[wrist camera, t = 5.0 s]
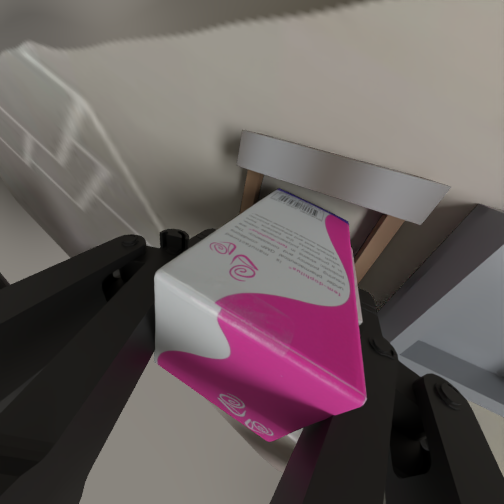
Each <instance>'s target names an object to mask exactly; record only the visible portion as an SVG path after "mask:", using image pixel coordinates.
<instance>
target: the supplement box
mask: <svg viewBox="0 0 504 504" xmlns="http://www.w3.org/2000/svg"><path fill="white" fill-rule="evenodd" d="M154 284H155V285H154V291H155V353H154V361H155V363H157V364H158V365H160V366H161V367H162V368H164V369H165V370H166V371H168V372H169V373H171V374H172V375H174V376H175V377H177V378H178V379H179V380H181V381H182V382H184V383H185V384H186V385H188V386H190V387H191V388H192V389H194V390H195V391H196V392H198V393H199V394H201V395H202V396H203V397H205V398H206V399H208V400H209V401H210V402H212V403H213V404H215V405H216V406H218V407H219V408H220V409H222V410H223V411H225V412H226V413H227V414H229V415H230V416H232V417H233V418H235V419H236V420H237V421H239V422H240V423H242V424H243V425H245V426H246V427H247V428H249V429H250V430H252V431H253V432H255V433H256V434H257V435H259V436H260V437H262V438H263V439H265V440H266V441H268V442H271V441H274V440H277V439H279V438H281V437H283V436H285V435H287V434H289V433H292V432H294V431H296V430H299V429H301V428H304V427H306V426H309V425H311V424H314V423H316V422H319V421H322V420H325V419H327V418H329V417H331V416H332V415H338V414H341V413H344V412H347V411H350V410H353V409H356V408H359V407H361V406H362V405H364V403H365V401H366V400H367V396H366V386H365V377H364V367H363V358H362V350H361V341H360V331H359V323H358V313H357V305H356V294H355V282H354V272H353V262H352V252H351V244H350V232H349V223H348V221H346V220H344V219H343V218H341V217H338V216H337V215H335V214H333V213H331V212H328V211H326V210H324V209H323V208H320V207H318V206H316V205H314V204H312V203H310V202H308V201H306V200H304V199H302V198H299V197H297V196H295V195H293V194H291V193H289V192H286V191H284V190H282V189H280V188H278V189H277V190H275V191H273V192H272V193H271V194H269V195H268V196H266V197H265V198H263V199H262V200H260V201H259V202H257V203H256V204H254V205H253V206H251V207H250V208H248V209H247V210H245V211H244V212H243V213H241V214H240V215H238V216H237V217H235V218H234V219H232V220H231V221H229V222H228V223H226V224H225V225H223V226H222V227H220V228H219V229H217V230H216V231H214V232H213V233H211V234H210V235H209V236H207V237H206V238H204V239H203V240H201V241H200V242H198V243H197V244H195V245H194V246H192V247H191V248H189V249H188V250H186V251H185V252H183V253H182V254H180V255H179V256H177V257H176V258H174V259H173V260H171V261H170V262H168V263H167V264H165V265H164V266H163V267H161V268H160V269H158V270H157V271H156V273H155V276H154Z"/></svg>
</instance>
